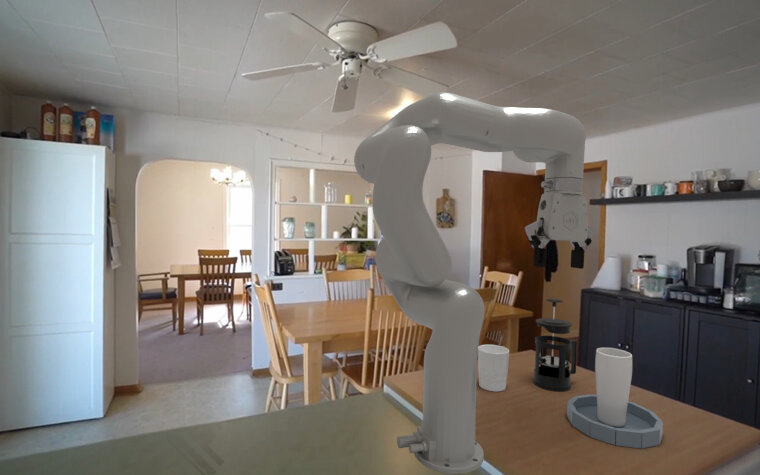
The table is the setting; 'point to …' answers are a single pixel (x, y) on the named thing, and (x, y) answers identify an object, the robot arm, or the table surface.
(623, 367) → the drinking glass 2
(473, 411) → the robot arm
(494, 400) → the table surface
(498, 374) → the white cup
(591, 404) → the bowl
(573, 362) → the french press
